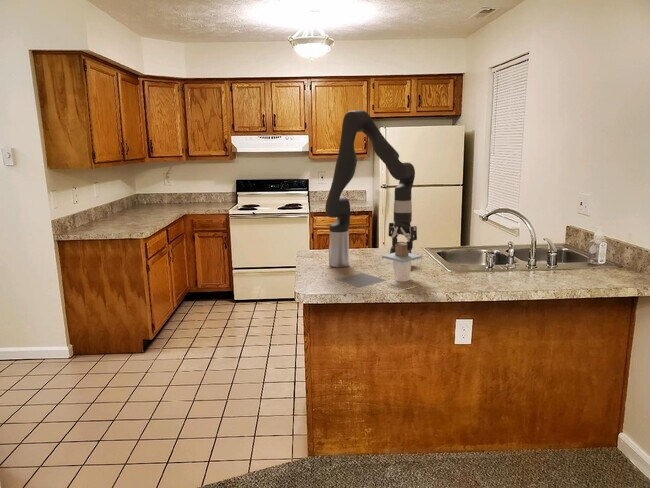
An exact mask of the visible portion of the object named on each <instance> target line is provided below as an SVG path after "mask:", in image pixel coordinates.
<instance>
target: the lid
mask: <svg viewBox="0 0 650 488" xmlns="http://www.w3.org/2000/svg"><path fill="white" fill-rule="evenodd" d="M405 243H406V242H405ZM405 243H399V244H395V253H391V254H390V253H386V254H382V255H381V258H383V259H387V260H389V261H392V262H393V261H397V262H401V263H403V262H407V261H411V262H412V261H415V260H420V259H422V258H423V256H422V255H419V254H416V253H415V254H414V253H412V252H411V253H409V250H407V244H405Z"/></svg>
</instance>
